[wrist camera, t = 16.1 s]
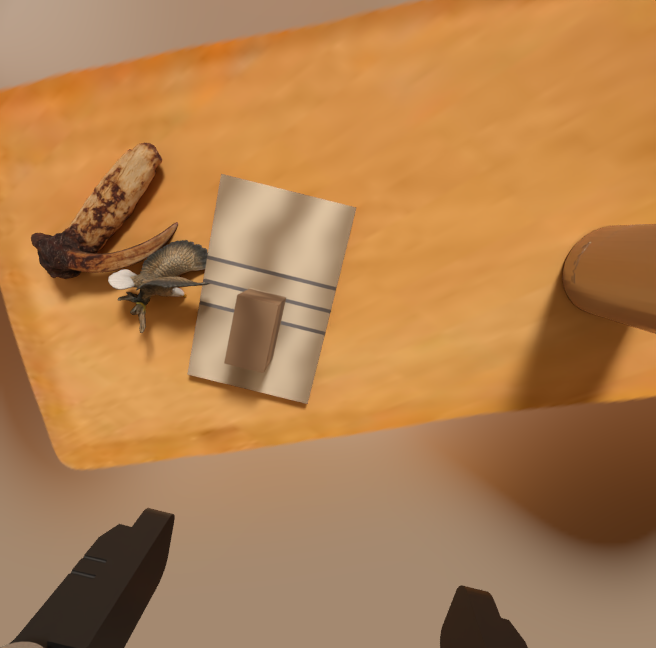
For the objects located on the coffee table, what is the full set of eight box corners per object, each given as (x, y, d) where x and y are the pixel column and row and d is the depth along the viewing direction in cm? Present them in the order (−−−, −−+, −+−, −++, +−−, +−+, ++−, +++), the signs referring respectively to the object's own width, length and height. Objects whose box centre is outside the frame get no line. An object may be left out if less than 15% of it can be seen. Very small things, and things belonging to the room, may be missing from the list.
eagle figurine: (173, 338, 43) (228, 292, 40) (111, 329, 37) (170, 274, 34) (157, 284, 46) (207, 238, 43) (97, 267, 40) (150, 212, 37)
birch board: (356, 208, 40) (356, 207, 39) (308, 399, 45) (307, 403, 44) (224, 175, 40) (221, 173, 39) (191, 370, 45) (187, 374, 44)
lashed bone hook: (109, 312, 45) (210, 196, 41) (83, 322, 40) (193, 193, 36) (43, 253, 43) (141, 128, 39) (8, 257, 39) (115, 116, 35)
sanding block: (286, 297, 41) (278, 305, 36) (273, 357, 43) (263, 373, 38) (250, 288, 41) (237, 294, 36) (238, 349, 43) (224, 363, 38)
